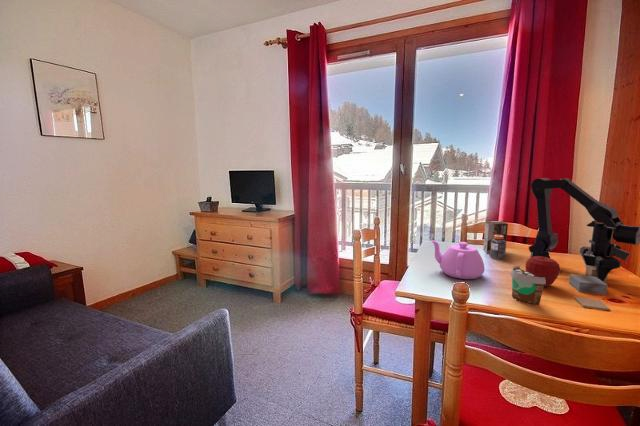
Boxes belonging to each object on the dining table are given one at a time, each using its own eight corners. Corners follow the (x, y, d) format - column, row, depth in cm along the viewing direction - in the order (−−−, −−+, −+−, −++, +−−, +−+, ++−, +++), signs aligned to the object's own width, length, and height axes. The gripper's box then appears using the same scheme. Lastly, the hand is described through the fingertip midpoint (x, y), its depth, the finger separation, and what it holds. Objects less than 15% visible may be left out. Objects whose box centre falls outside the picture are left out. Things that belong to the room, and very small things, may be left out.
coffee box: (501, 250, 161) (504, 221, 158) (505, 254, 155) (508, 223, 152) (482, 249, 163) (485, 220, 160) (486, 253, 157) (488, 222, 154)
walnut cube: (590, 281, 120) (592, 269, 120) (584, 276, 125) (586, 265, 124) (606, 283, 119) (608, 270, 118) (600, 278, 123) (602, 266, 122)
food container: (499, 292, 111) (502, 265, 109) (515, 291, 111) (518, 265, 110) (525, 308, 99) (528, 278, 97) (542, 307, 99) (546, 278, 98)
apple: (560, 293, 110) (564, 262, 108) (524, 287, 115) (528, 257, 113) (555, 282, 119) (558, 253, 117) (522, 277, 124) (525, 250, 122)
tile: (582, 307, 99) (582, 305, 99) (574, 298, 106) (574, 296, 105) (609, 310, 97) (610, 309, 96) (599, 301, 103) (599, 299, 103)
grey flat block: (578, 292, 111) (580, 281, 110) (568, 284, 118) (570, 274, 118) (605, 295, 108) (607, 284, 108) (594, 286, 116) (595, 276, 115)
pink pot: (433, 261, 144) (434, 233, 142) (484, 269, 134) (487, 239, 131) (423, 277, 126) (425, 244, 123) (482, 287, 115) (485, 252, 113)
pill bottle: (502, 256, 152) (504, 234, 150) (505, 260, 146) (507, 237, 144) (488, 255, 154) (490, 233, 152) (491, 258, 148) (493, 236, 146)
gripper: (643, 247, 107) (635, 289, 110) (615, 235, 125) (609, 271, 127) (603, 244, 112) (596, 284, 114) (581, 233, 129) (576, 268, 131)
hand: (595, 277), depth 122 cm, fingers open, 9 cm apart
